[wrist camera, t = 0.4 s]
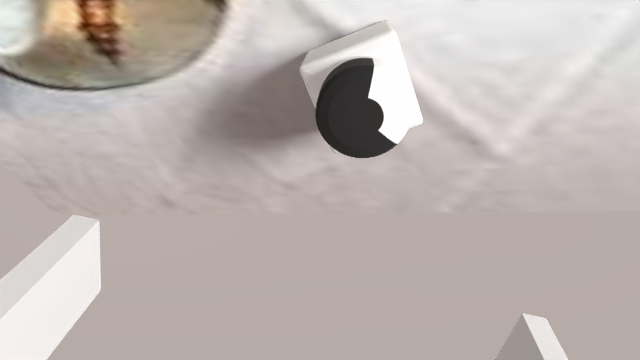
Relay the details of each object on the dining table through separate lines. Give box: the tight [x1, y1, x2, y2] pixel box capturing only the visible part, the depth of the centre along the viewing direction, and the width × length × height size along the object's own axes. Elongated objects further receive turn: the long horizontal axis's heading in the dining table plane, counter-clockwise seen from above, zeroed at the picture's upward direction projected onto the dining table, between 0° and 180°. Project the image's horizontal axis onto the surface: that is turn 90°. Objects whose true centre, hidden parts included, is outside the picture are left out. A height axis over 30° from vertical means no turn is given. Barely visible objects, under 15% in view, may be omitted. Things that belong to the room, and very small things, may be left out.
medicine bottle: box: [299, 20, 423, 158], centre depth 32 cm, size 7×7×12 cm
